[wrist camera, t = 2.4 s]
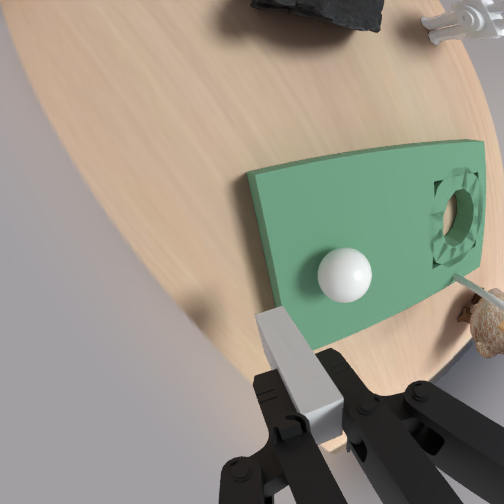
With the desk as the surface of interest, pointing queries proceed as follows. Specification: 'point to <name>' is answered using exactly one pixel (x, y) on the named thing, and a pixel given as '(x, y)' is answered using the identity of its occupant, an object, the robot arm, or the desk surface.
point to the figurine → (486, 324)
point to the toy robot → (467, 21)
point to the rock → (331, 11)
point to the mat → (371, 229)
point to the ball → (344, 275)
